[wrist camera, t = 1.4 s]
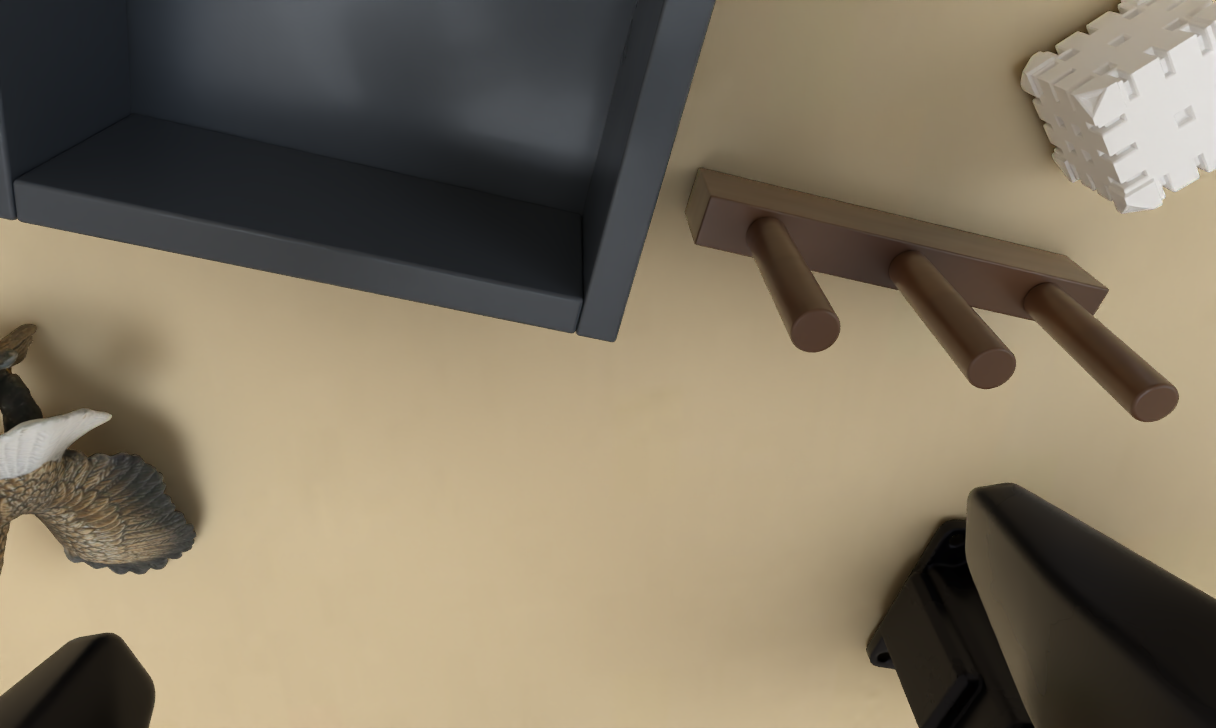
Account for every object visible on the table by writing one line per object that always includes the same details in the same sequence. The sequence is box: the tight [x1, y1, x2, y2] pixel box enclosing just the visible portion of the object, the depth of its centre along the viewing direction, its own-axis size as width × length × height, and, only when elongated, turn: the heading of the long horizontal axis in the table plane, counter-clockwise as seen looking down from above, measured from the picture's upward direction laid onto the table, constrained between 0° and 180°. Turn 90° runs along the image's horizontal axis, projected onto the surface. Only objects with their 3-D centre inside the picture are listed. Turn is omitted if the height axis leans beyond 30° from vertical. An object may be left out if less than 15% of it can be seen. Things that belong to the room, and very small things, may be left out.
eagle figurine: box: [0, 324, 196, 574], centre depth 21 cm, size 8×7×9 cm
